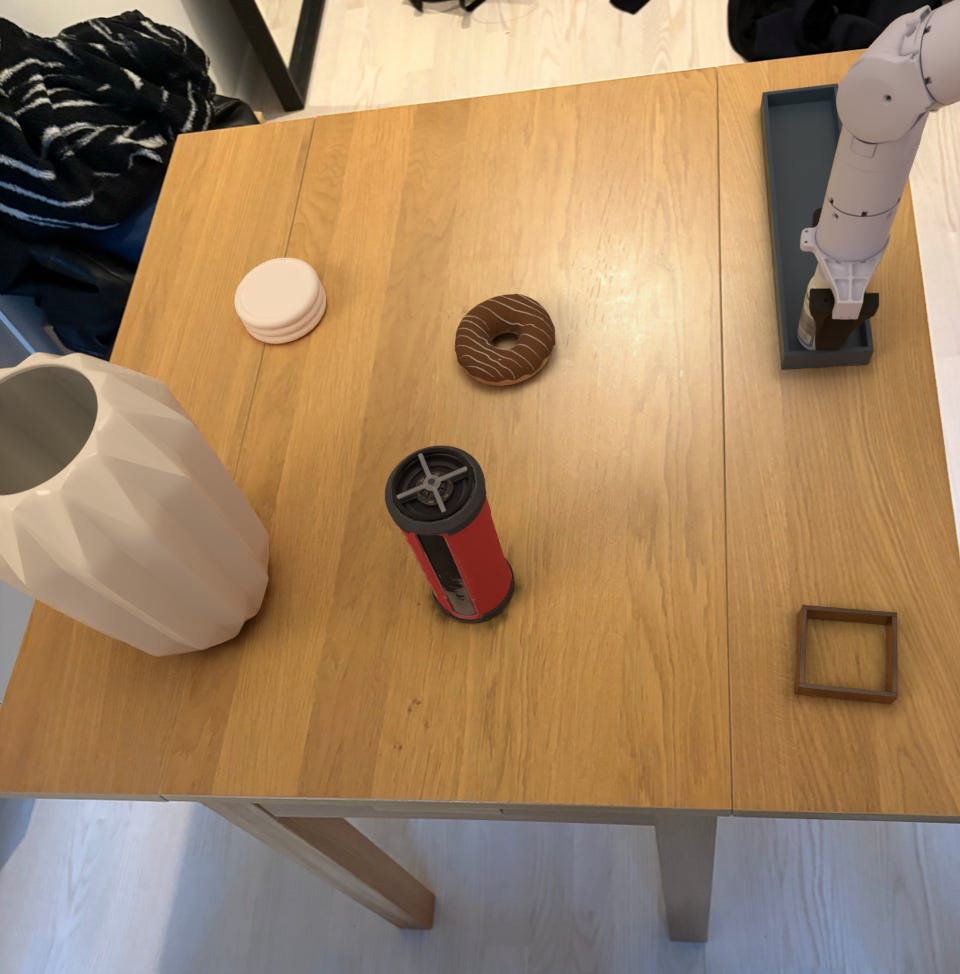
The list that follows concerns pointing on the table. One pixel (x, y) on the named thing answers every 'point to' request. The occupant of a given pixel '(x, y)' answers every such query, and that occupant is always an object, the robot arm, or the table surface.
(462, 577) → the speaker
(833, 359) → the tray
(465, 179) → the table surface
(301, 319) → the pale pink macaron
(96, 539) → the vase
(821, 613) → the brown wooden square frame
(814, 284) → the pill bottle
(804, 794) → the table surface
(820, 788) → the table surface
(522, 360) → the donut
